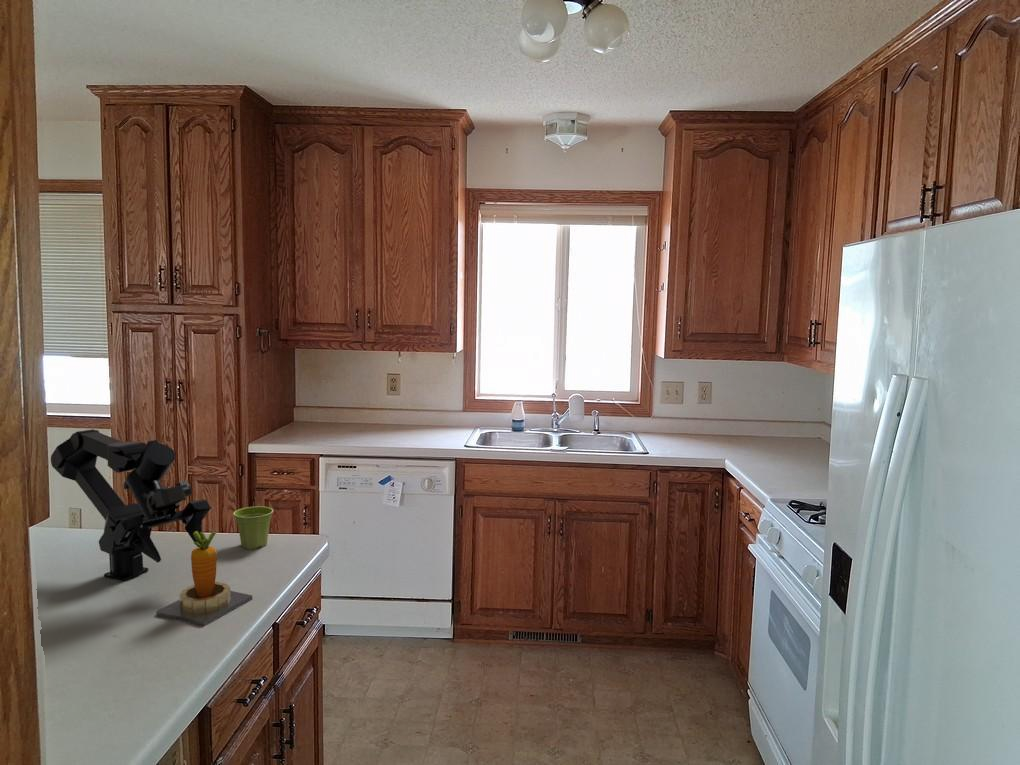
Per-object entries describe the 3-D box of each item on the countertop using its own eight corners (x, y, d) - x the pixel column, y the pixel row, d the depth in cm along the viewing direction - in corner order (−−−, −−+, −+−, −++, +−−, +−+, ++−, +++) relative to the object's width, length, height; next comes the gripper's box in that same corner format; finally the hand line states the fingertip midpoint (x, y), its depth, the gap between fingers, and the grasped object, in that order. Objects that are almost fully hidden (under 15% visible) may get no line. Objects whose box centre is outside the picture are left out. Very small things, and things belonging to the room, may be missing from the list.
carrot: (222, 597, 142) (220, 526, 140) (212, 608, 137) (210, 534, 135) (198, 597, 142) (195, 526, 140) (187, 607, 137) (184, 534, 135)
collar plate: (156, 614, 135) (155, 598, 135) (207, 589, 147) (206, 574, 147) (203, 626, 131) (203, 609, 131) (252, 599, 143) (251, 583, 143)
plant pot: (241, 538, 179) (240, 506, 178) (278, 538, 180) (277, 505, 179) (229, 551, 170) (228, 517, 169) (268, 551, 170) (267, 517, 169)
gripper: (117, 480, 136) (150, 546, 131) (204, 462, 151) (237, 521, 146) (98, 512, 141) (130, 576, 136) (184, 491, 156) (216, 549, 152)
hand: (181, 554), depth 142 cm, fingers open, 9 cm apart
